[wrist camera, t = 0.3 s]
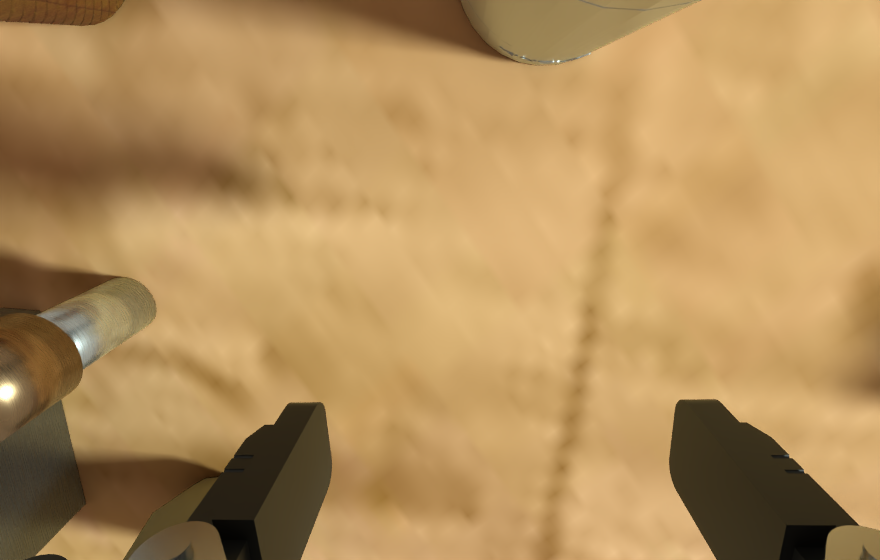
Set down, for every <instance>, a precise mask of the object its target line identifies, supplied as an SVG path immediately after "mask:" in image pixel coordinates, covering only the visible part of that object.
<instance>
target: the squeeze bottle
mask: <svg viewBox="0 0 880 560" xmlns="http://www.w3.org/2000/svg"><path fill="white" fill-rule="evenodd" d="M217 478H218V477H214V478H205V479H204V480H202V481H200V482H198V483H196V484H194V485H193V486H191V487H190V488H188V489H187V490H186V491H184V492H183V493H181V494H180V495H178V496H177V497H175V498H174V499H172V500H171V501H170V502H168V503H167V504H165V505H164V506H162V507H161V508H159V509H158V510H156V511H155V512H154V513H153V514H152V515H151V517H150V518H149V520H148V521H147V523H146V524H145V526H144V528H143V529H142V531H141V532H140V534H139V535H138V537H137V539H136V540H135V542H134V543H133V545H132V547H131V548H130V550H129V551H128V553H127V555H126V556H125V558H124V559H123V560H128V559H129V558H130V556H131V555H132V554H133V552H134V551H135V550H136V549H137V548H138V547H139V546H140V545H141V544H143V543H144V542H145V541H146V540H147V539H149V538H150V537H152V536H153V535H155V534H157V533H158V532H160V531H162V530H164V529H166V528H168V527H171V526H173V525H176V524H180V523H184V522H187V520H188V519H189V517H190V516H191V515H192V513H193V512H194V510H195V509H196V508H197V506H198V505H199V504H200V502H201V501H202V499H203V498H204V497H205V495H206V494H207V492H208V491H209V490H210V488H211V487H212V485H213V484H214V483H215V481H216V480H217Z"/></svg>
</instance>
